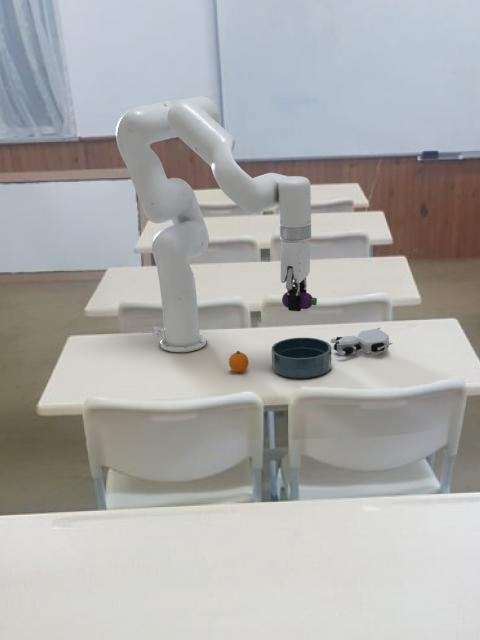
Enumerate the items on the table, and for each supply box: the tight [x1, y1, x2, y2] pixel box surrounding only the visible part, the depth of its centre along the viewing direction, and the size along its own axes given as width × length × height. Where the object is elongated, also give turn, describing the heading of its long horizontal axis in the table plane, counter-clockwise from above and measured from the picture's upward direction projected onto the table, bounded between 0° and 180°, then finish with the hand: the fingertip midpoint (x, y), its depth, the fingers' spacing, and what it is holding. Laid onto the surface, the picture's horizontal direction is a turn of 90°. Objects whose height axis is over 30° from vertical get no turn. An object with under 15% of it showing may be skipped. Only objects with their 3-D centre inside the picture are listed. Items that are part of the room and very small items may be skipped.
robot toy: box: [330, 327, 393, 357], centre depth 226 cm, size 12×4×15 cm
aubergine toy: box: [281, 291, 318, 310], centre depth 211 cm, size 9×4×4 cm, turn 72°
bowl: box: [271, 337, 332, 380], centre depth 217 cm, size 15×15×6 cm
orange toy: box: [228, 350, 249, 373], centre depth 216 cm, size 5×5×6 cm
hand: (297, 306), depth 212 cm, fingers closed on aubergine toy, 4 cm apart
